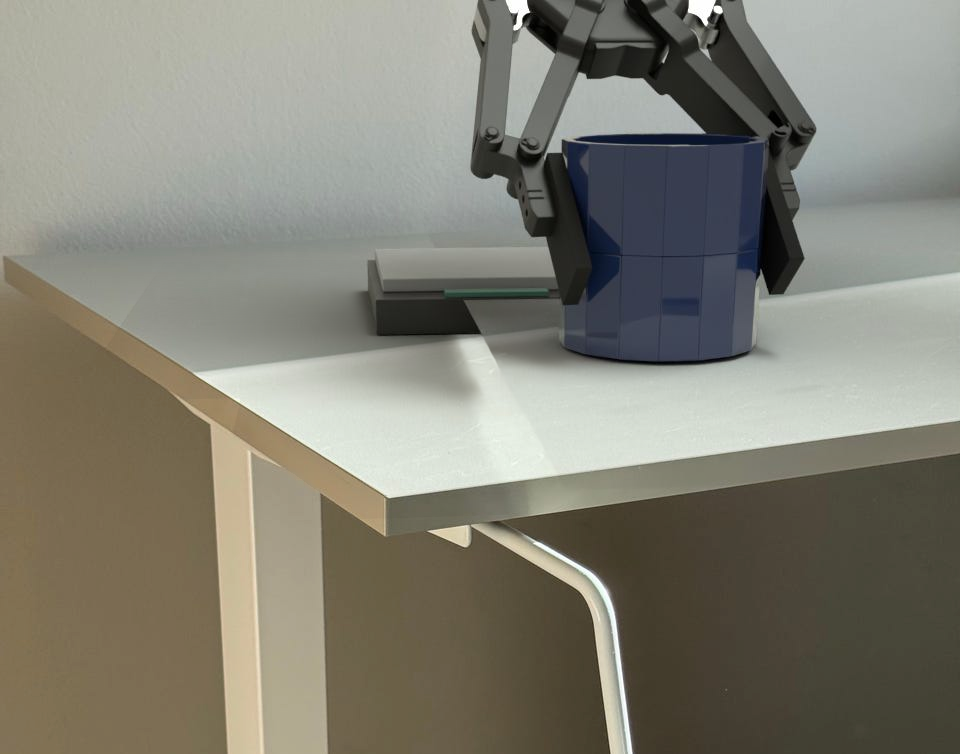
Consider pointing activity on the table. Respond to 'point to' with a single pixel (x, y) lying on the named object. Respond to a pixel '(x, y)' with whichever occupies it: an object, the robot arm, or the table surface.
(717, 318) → the faceted navy pot
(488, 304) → the table surface
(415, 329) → the scale
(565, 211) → the robot arm
